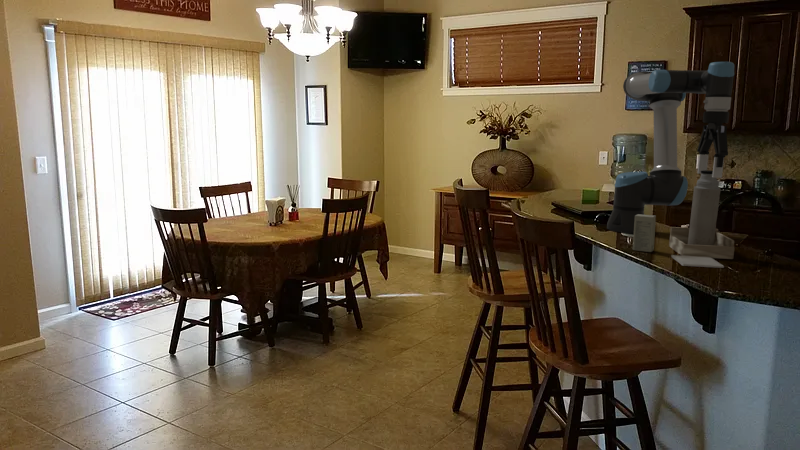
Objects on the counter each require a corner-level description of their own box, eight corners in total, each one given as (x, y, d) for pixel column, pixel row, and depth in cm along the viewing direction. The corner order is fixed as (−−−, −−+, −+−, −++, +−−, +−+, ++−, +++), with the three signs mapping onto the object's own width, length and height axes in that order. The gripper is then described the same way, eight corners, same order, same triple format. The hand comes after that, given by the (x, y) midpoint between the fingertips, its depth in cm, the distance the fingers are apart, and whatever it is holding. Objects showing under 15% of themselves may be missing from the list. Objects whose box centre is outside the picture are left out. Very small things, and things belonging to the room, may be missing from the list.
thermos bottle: (708, 250, 209) (718, 170, 204) (715, 255, 201) (726, 172, 196) (684, 249, 210) (693, 169, 205) (690, 254, 203) (699, 171, 198)
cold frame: (668, 246, 214) (670, 226, 213) (715, 248, 212) (717, 228, 211) (683, 256, 199) (685, 235, 198) (733, 258, 197) (735, 238, 196)
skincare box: (653, 250, 207) (657, 215, 205) (651, 252, 204) (654, 217, 201) (634, 247, 211) (637, 213, 209) (631, 250, 207) (634, 215, 205)
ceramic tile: (671, 256, 199) (671, 254, 198) (709, 258, 197) (709, 256, 197) (682, 265, 187) (683, 263, 187) (723, 267, 185) (723, 266, 185)
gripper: (691, 110, 209) (685, 171, 213) (719, 110, 185) (711, 178, 189) (714, 111, 208) (707, 172, 212) (745, 110, 184) (736, 179, 188)
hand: (709, 175), depth 201 cm, fingers open, 13 cm apart
